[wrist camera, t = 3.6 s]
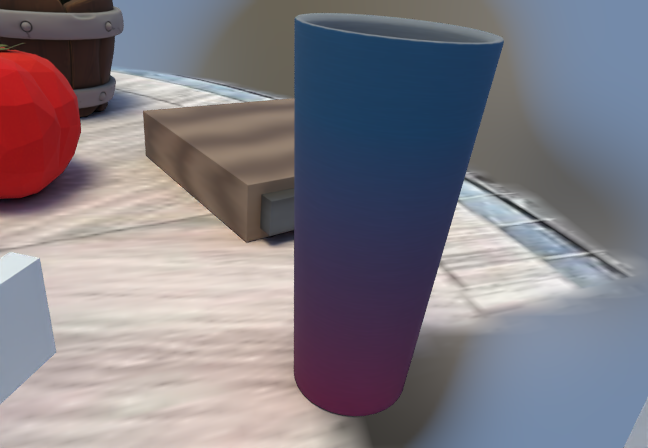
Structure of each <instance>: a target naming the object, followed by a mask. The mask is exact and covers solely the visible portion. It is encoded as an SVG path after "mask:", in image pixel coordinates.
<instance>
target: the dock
mask: <svg viewBox="0 0 648 448" xmlns="http://www.w3.org/2000/svg"><path fill="white" fill-rule="evenodd" d="M294 101H295V98H292V99H280V100H268V101H256V102H244V103H231V104H219V105H207V106H195V107H183V108H171V109H159V110H147V111H143V118H144V133H145V148H146V156H147V157H148V158H150V159H151V160H152V161H153V162H154V163H155V164H157V165H158V166H159V167H160V168H161V169H162V170H163V171H165V172H166V173H167V174H168V175H169V176H170V177H172V178H173V179H174V180H175V181H176V182H177V183H179V184H180V185H181V186H182V187H183V188H184V189H185V190H187V191H188V192H189V193H190V194H191V195H192V196H194V197H195V198H196V199H197V200H198V201H199V202H200V203H202V204H203V205H204V206H205V207H206V208H207V209H209V210H210V211H211V212H212V213H213V214H214V215H216V216H217V217H218V218H219V219H220V220H221V221H222V222H224V223H225V224H226V225H227V226H228V227H229V228H231V229H232V230H233V231H234V232H235V233H236V234H237V235H239V236H240V237H241V238H242V239H243V240H244V241H246V242H249V241H253V240H257V239H261V238H265V237H269V236H273V235H277V234H281V233H285V232H289V231H292V230H294Z"/></svg>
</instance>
